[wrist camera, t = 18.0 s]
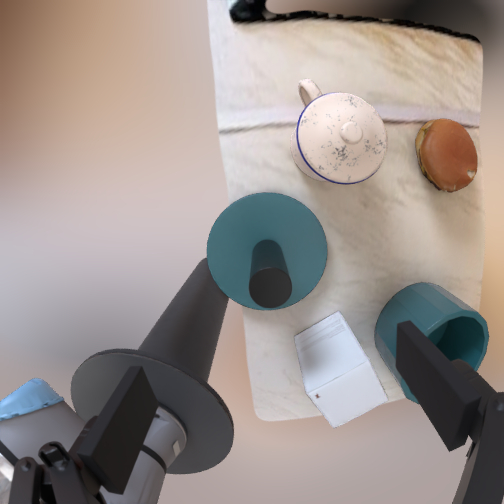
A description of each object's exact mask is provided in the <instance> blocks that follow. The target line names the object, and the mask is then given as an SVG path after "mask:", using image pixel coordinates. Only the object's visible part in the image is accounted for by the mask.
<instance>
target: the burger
mask: <svg viewBox="0 0 504 504" xmlns="http://www.w3.org/2000/svg"><path fill="white" fill-rule="evenodd" d="M415 145H416V152H417V157H418V161H419V164H420V167H421V170H422V173H423V175H424V176H425V177H426V178H427V179H428V180H429V181H430V182H431V183H432V184H434V186H435V187H436V188H437V189H438V190H443V191H445V190H447V192H454V191H458V190H460V189H462V188H464V187H466V186H467V185H468V184H469V183H470V182H471V181H472V180H473V178H474V176H475V174H476V172H477V153H476V149H475V146H474V143H473V141H472V139H471V138H470V136H469V134H468V132H467V131H466V130H465V129H464V128H463V127H462V126H461V125H460V124H459V123H457V122H455V121H452V120H450V119H438V120H431V121H429V122H427V123H426V124H425V125H423V126H422V128H421V129H420V131H419V133H418V135H417V137H416V140H415Z"/></svg>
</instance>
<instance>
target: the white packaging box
mask: <svg viewBox="0 0 504 504" xmlns="http://www.w3.org/2000/svg"><path fill="white" fill-rule="evenodd" d="M294 339H295V344H296V348H297V353H298V358H299V363H300V367H301V372H302V377H303V382H304V387H305V392H306V394H307V395H308V397H309V398H310V399H311V400H312V402H313V403H314V404H315V405H316V407H317V408H318V409H319V410H320V412H321V413H322V414H323V415H324V416H325V418H326V419H327V421H328V422H329V423H330V425H331V426H332V427H333V428H337V427H339V426H341V425H343V424H345V423H347V422H349V421H351V420H353V419H355V418H357V417H359V416H360V415H362V414H364V413H366V412H368V411H370V410H371V409H373V408H375V407H377V406H379V405H381V404H382V403H384V402H386V401H388V397H387V395H386V393H385V391H384V388H383V386H382V384H381V382H380V380H379V378H378V375H377V373H376V371H375V369H374V367H373V365H372V363H371V361H370V359H369V358H368V356H367V355H366V353H365V352H364V350H363V348H362V347H361V345H360V343H359V342H358V340H357V338H356V337H355V335H354V333H353V332H352V330H351V328H350V327H349V325H348V323H347V322H346V320H345V319H344V317H343V316H342V314H341V313H340V312H339V311H338V312H336V313H334V314H333V315H331V316H329V317H327V318H326V319H324V320H322V321H321V322H319V323H317V324H315V325H314V326H312V327H310V328H308V329H307V330H305V331H303V332H301V333H299V334H298V335H296V336H294Z"/></svg>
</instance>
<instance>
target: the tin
mask: <svg viewBox="0 0 504 504" xmlns="http://www.w3.org/2000/svg"><path fill="white" fill-rule="evenodd" d="M408 320H410V321H411V322H412V323H413V324H414V325H415V326H416V327H417V328H418V329H419V330H420V331H421V332H422V333H423V334H424V335H425V336H426V337H427V338H428V339H429V340H430V341H431V342H432V343H433V344H434V345H435V346H436V347H437V348H438V349H439V350H440V351H441V352H442V353H443V354H444V355H445V356H446V357H447V358H448V359H449V360H450V361H453V360H456V359H458V358H459V359H461V360H463V361H465V362H467V363H468V364H469V365H470V366H471V367H472V368H473V369H474V370H475V371H477V370H478V368H479V366H480V364H481V362H482V360H483V358H484V356H485V354H486V350H487V345H488V340H489V334H488V333H489V332H488V327H487V322H486V321H485V319H484V318H483V317H482V316H481V315H480V314H479V313H478V312H477V311H475V310H474V309H473V308H471V307H470V306H468V305H467V304H465V303H464V302H463V301H461V300H460V299H458V298H457V297H455V296H454V295H452V294H451V293H449V292H448V291H446V290H445V289H443V288H442V287H440V286H439V285H435V284H432V283H416V284H413V285H410V286H408V287H406V288H404V289H403V290H401V291H400V292H398V293H397V294H396V295H395V296H394V297H393V298H391V300H390V301H389V302H388V303H387V304H386V306H385V307H384V309H383V310H382V312H381V314H380V316H379V318H378V321H377V324H376V328H375V344H376V348H377V350H378V352H379V353H380V355H381V357H382V359H383V360H384V362H385V364H386V365H387V367H388V369H389V370H390V372H391V373H392V375H393V377H394V378H395V380H396V382H397V383H398V385H399V386H400V388H401V390H402V391H403V393H404V395H405V396H406V398H408V399H409V400H411V401H413V402H416V403H417V404H419V402H418V401H417V399H416V398H415V396H414V395H413V393H412V392H411V390H410V389H409V387H408V385H407V384H406V382H405V381H404V379H403V378H402V376H401V375H400V373H399V372H398V371H397V369H396V368H395V365H396V339H397V323H401V322H404V321H408Z"/></svg>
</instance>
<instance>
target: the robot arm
mask: <svg viewBox="0 0 504 504" xmlns="http://www.w3.org/2000/svg"><path fill="white" fill-rule="evenodd" d="M395 368H396V369H397V371H398V372H399V373H400V375H401V376H402V378H403V379H404V381H405V382H406V384H407V385H408V387H409V389H410V390H411V392H412V393H413V395H414V396H415V398H416V399H417V401H418V402H419V404H420V405H421V407H422V408H423V410H424V412H425V413H426V415H427V416H428V418H429V420H430V421H431V423H432V424H433V425H434V427H435V429H436V431H437V432H438V434H439V436H440V437H441V439H442V440H443V442H444V444H445V445H446V447H447V449H448V450H449V452H450V451H452V450H454V449H456V448H459V447H460V446H462V445H465V443H466V440H467V438H468V435H469V436H470V438H471V439H472V441H473V442H472V444H471V446H470V448H469V451H468V453H467V455H466V456H467V457H468V458H467V461H466V465H465V468H464V471H463V474H462V477H461V480H460V483H459V486H458V489H457V492H456V495H455V497H454V500H453V502H452V504H501V503H502V500H503V496H504V392H498V393H497V392H496V391H495V390H494V389H493V388H492V387H491V386H490V385H489V384H488V383H487V382H486V381H485V380H484V379H483V378H482V377H481V376H480V375H479V374H478V373H477V372H476V371H475V370H474V369H473V368H472V367H471V366H470V365H469V364H468V363H467V362H465V361H463V360H461V359H459V358H458V359H456V360H453V361H450V360H449V359H448V358H447V357H446V356H445V355H444V354H443V353H442V352H441V351H440V350H439V349H438V348H437V347H436V346H435V345H434V344H433V343H432V342H431V341H430V340H429V339H428V338H427V337H426V336H425V335H424V334H423V333H422V332H421V331H420V330H419V329H418V328H417V327H416V326H415V325H414V324H413V323H412V322H411V321H410V320H408V321H404V322H401V323H397V339H396V365H395ZM187 437H188V433H187V429H186V426H185V424H184V423H183V421H182V420H181V418H180V417H179V416H178V415H177V414H176V413H175V412H174V411H172V410H171V409H170V408H168V407H167V406H165V405H164V404H162V403H160V402H158V401H157V399H156V397H155V394H154V392H153V390H152V388H151V385H150V383H149V381H148V378H147V376H146V374H145V371H144V369H143V366H130V367H129V368H128V370H127V371H126V373H125V375H124V376H123V378H122V379H121V381H120V382H119V384H118V385H117V387H116V389H115V390H114V392H113V393H112V395H111V396H110V398H109V400H108V401H107V403H106V404H105V406H104V408H103V409H102V411H101V412H100V414H99V416H96V415H95V416H93V417H92V418H91V419H90V420H89V421H87V423H86V422H84V421H83V420H82V419H81V418H80V417H79V416H78V415H77V414H76V413H75V412H74V411H73V410H72V409H71V407H69V405H68V404H67V403H66V402H65V401H64V398H63V397H60V396H59V395H58V394H57V393H56V392H55V391H54V390H53V389H52V388H51V387H50V386H49V385H48V383H47V382H45V381H44V380H42V379H39V378H34V379H31V380H30V381H28V382H27V383H25V384H24V385H22V386H21V387H19V388H18V389H17V390H15V391H14V392H12V393H11V394H10V395H8V396H7V397H5V398H4V399H3V400H1V401H0V504H157V502H158V499H159V495H160V491H161V488H162V485H163V481H164V478H165V474H166V471H167V468H168V467H169V466H170V465H171V464H172V462H173V461H174V460H175V459H176V457H177V456H178V455H179V454H180V453H181V452H182V451H183V449H184V448H185V445H186V441H187Z"/></svg>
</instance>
